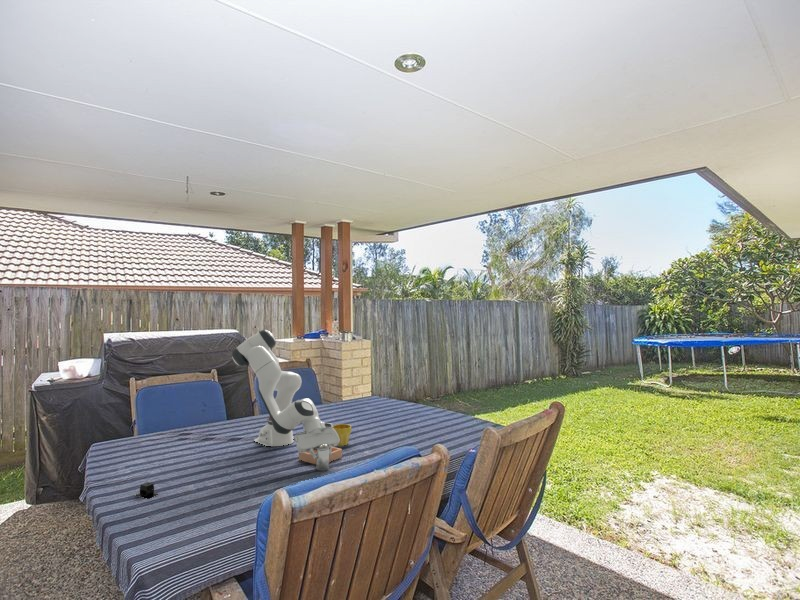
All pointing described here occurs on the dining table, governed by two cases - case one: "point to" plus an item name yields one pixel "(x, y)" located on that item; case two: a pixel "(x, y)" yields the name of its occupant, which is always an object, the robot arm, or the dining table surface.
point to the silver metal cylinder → (322, 457)
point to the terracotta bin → (309, 458)
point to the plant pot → (343, 433)
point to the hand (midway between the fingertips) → (323, 456)
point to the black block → (147, 490)
